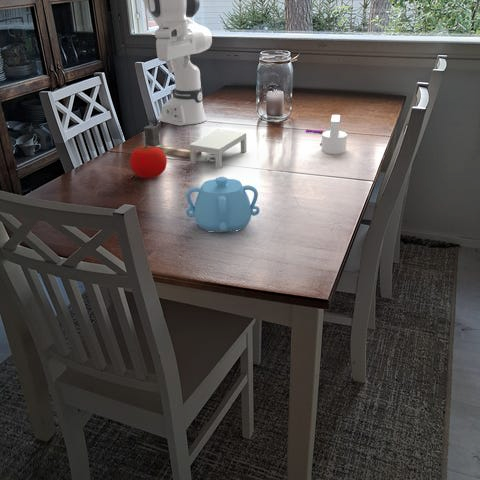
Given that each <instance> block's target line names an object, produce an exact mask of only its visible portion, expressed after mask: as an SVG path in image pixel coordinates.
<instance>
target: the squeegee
mask: <svg viewBox="0 0 480 480" xmlns="http://www.w3.org/2000/svg"><path fill="white" fill-rule="evenodd" d="M328 131H330V128H329V130H328ZM309 132H313V134H321V135H322V133H323V132H324V131H323V130H315V129H314V130H313V129H306V130H305V133H309ZM319 146H321V147H322V141H321V142H320V143H319Z"/></svg>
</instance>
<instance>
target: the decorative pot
mask: <svg viewBox="0 0 480 480" xmlns="http://www.w3.org/2000/svg"><path fill="white" fill-rule="evenodd" d="M247 191H251V192H253V199H252V201H250V199H249V196H248V195H249V194H247ZM194 192H195V193H196V192H198V193H197V196H196V199H195V203H193V201H192V198H191V194H192V193H194ZM258 197H259V192H258V190H257V188H255V187H254V186H252V185H250V184H248V185H247V184H246V185H243V184H242V181H240V180H238V179H234V178H227V177H225V176H218V177H216V178H215V179H209V180H206V181H204V182H203V183H202V185H201V187H200V186H199V187H198V186H197V187H196V186H195V187H191V188H190V189H188V190H187V192H186V197H185V198H186V202H187V203H188V204H187V205H188V206H189V207H188V208H187V209H186V210H185V213H186V214H185V215H186V216H187V217H188V218H194V220H195V222H196V224H197V225H198V226H199V228H201V229H202V230H204V231H206V232H207V231H214V232H213V233H215V232H216V233H224V232H225V233H227V232H233V231H236V230H239V229H240V230H242V229H244V228H246V226H247V225H248V224H249V223H250V221H251V218H252V217H253V216H257V215H259V213H260V212H261V211H260V207H259V206H257V205H256V203H257V200H258ZM250 202H251V203H250ZM254 210H255V211H254ZM190 211H192V212H190ZM240 230H239V231H240Z"/></svg>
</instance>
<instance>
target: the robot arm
mask: <svg viewBox="0 0 480 480" xmlns="http://www.w3.org/2000/svg"><path fill="white" fill-rule="evenodd" d="M142 2H143V4H144V6H145V8H146V10H147V11H148V13H149V14H150V16H151V17H152V19H153V21H154V22H155V23H156V24H157V26H158V28H157V29H156V30H155V31H154V37H155V38H156V41H155V45H156V46H155V48H156V55H157V59H158V60H159V61H160V62H165V65H166V67H167V68H168V71H167V72H168V73H169V74H173V76H174V77H173V78H174V86H175V87H174V88H173V89H172V90H170V94H172V97H171V98H169V99H168V100H167V101H166V102H165V103H164V104H163V105H162V107H161V114H160V115H159V116H157V117H156V119H157V120H156V121H158V122H163V123H166V124H167V123H168V124H171V125H175V126H187V125H195V124H196V125H197V124H201V123H204V122H205V121H207V116H206V114H205V111H204V105H203V88H202V84H201V71H200V68H199V67H198V66H197V65H196V64H193V63H192V62H191V60H190V59H191V55H194V54H200V53H202V52H205V51H207V50H209V49H210V48H211V46H212V43H213V38H212V37H213V35H212V32H211V31H210V29H208V27H207V26H203V25H201V24H199V23H197V22H196V21H194V20H192V19H191V18H193V17H194V16H195V15H196V14H197V13H198V11H199V9H200V5H201V4H200V2H201V1H200V0H142Z"/></svg>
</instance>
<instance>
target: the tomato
mask: <svg viewBox="0 0 480 480" xmlns="http://www.w3.org/2000/svg"><path fill="white" fill-rule="evenodd" d="M167 161H168V159H167V154H166V153H164V152H163V151H162V150H161V149H160V148H158V147H153V146H148V145H147V146H146V145H142V146H139V147H136V148H135V149H134V150H133V151H132V153H131V155H130V157H129V166H130V170H132V172H133V174H135V175H136V176H137V177H140V178H141V179H155V178H157V177H158V176H160V175H162V174H163V173H164V171H165V169H166V168H167V164H168V162H167Z"/></svg>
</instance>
